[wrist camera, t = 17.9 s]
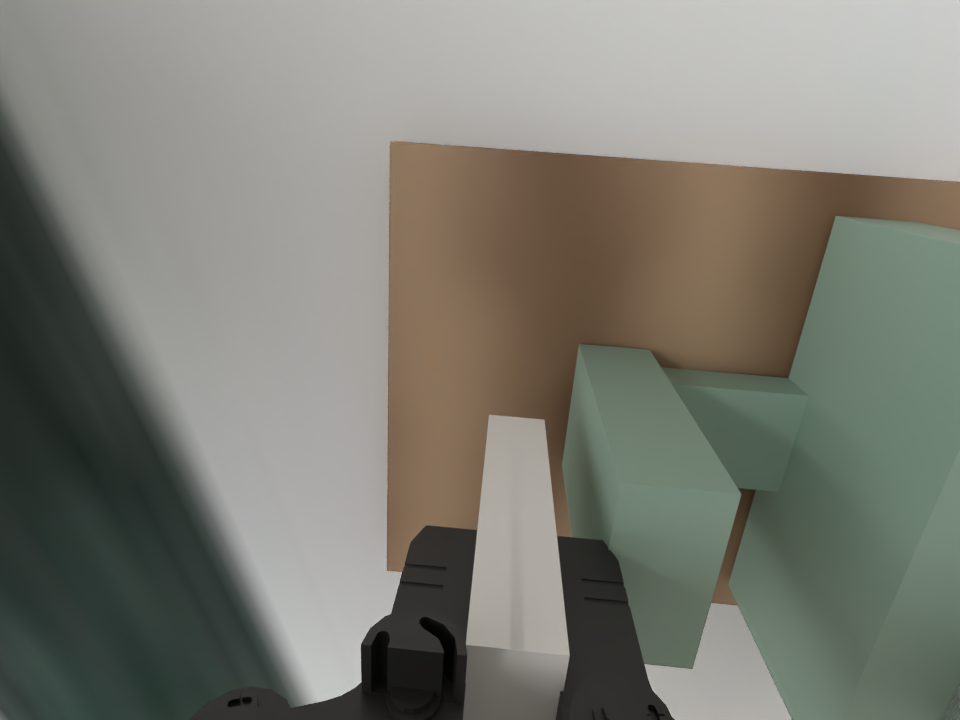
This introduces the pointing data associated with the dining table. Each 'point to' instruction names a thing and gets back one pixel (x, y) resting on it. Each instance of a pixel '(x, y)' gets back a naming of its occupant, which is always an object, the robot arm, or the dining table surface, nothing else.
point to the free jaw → (798, 484)
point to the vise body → (589, 295)
